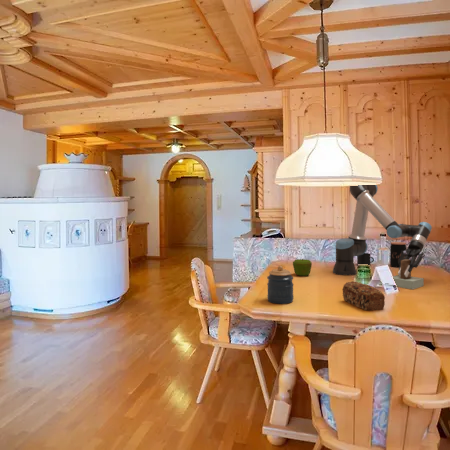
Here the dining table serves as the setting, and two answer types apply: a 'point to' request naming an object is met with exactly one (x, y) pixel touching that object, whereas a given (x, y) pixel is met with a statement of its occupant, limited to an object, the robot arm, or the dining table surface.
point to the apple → (302, 267)
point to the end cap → (409, 282)
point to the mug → (364, 259)
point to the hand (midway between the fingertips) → (402, 275)
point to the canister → (280, 286)
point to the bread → (363, 296)
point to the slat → (403, 268)
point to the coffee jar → (396, 252)
